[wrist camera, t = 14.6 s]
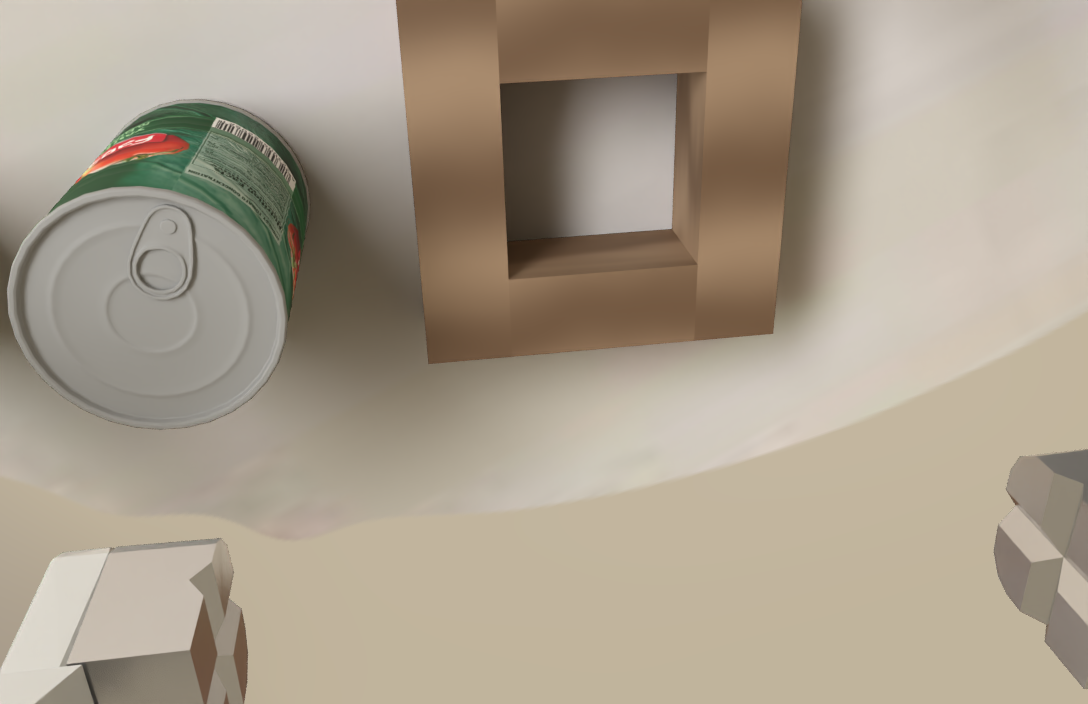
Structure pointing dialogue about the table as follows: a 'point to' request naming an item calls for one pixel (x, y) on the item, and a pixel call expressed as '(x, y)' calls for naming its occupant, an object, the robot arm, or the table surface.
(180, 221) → the canned tomato
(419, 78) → the socket block
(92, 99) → the table surface
